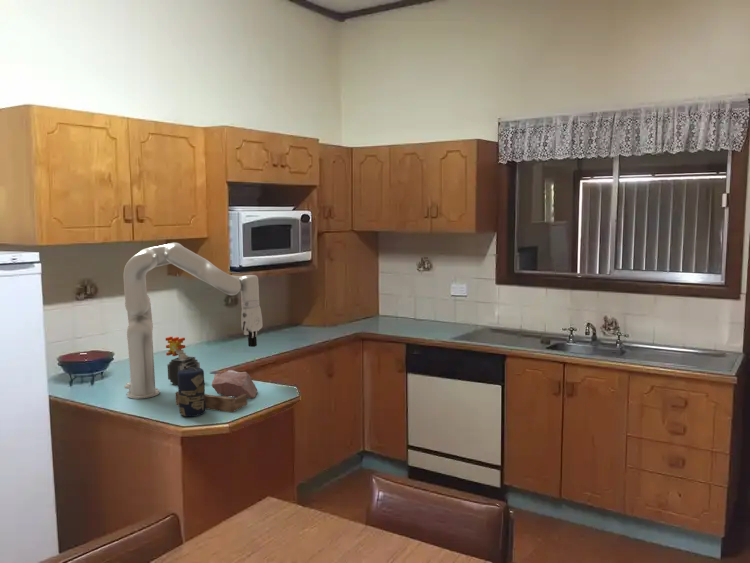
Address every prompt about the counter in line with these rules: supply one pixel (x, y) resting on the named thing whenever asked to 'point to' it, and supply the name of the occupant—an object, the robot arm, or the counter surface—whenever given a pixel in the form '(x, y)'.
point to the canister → (191, 391)
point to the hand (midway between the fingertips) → (252, 346)
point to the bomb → (178, 359)
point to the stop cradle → (222, 402)
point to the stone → (234, 384)
